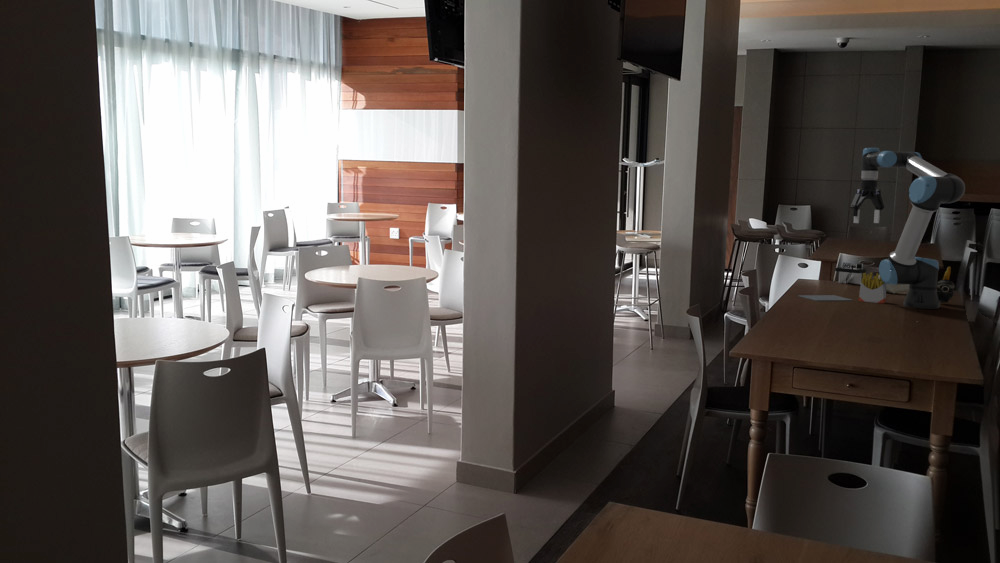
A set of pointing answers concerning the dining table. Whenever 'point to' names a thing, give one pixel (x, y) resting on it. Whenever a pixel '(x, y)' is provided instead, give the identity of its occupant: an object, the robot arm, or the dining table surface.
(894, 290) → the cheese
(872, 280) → the french fries container
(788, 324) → the dining table surface
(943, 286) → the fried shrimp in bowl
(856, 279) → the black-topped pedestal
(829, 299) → the mat
